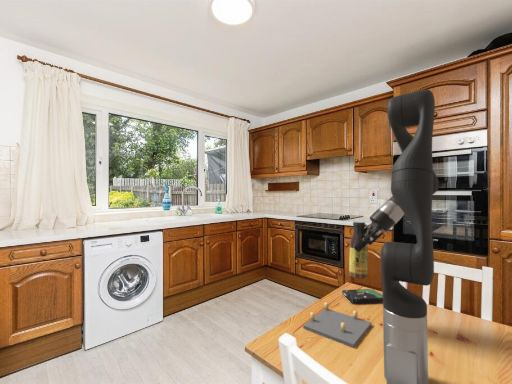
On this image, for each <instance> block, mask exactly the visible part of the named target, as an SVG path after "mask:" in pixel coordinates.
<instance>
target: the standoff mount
mask: <svg viewBox="0 0 512 384" xmlns="http://www.w3.org/2000/svg"><path fill="white" fill-rule="evenodd" d="M352 311H353V313H352V314H353V315H349V314H346V313H343V312H339V311H336V310H333V309H329V302H328V301H325V302H324V309H322V310H321V311H320V312H319V313H317V314H315V312H313V311H311V312H310V319H309V320H308V321H307V322H306V323H304V324H303V325H302V328H303V329H304V330H306V331H309V332H311V333H314V334H317V335H320V336H322V337H323V338H328V339H330V340H332V341H334V342H337V343H340V344H343V345H345V346H348V347H350V348H353V349H355V347H356V345H358V343H359V342H360V341H361V340H362V338H363V337H364V336H365V334H366V333H367V331H368V330H369V329H370V328H371V327H372V325H373V323H372V321H369V320H365V319H361V318H359V316H358V311H357V310H352Z"/></svg>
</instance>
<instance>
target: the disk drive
mask: <svg viewBox="0 0 512 384" xmlns="http://www.w3.org/2000/svg"><path fill="white" fill-rule="evenodd" d="M341 292H342V294H343V295H344V296H345V297H346V298H347V299H348V300H349V301H350V302H349V301H348V300H347V299H346V298H345V297H344V296H343V295H342V296H343V297H344V298H345V299H346V300H347V301H348V302H349V303H351V304H352V305H365V304H369V305H370V303H371V304H383V294H382V293H380V292H378V291H376V290H375V289H374V288H373V289H372V288H364V289H342V291H341Z"/></svg>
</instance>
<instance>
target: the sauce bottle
mask: <svg viewBox="0 0 512 384" xmlns="http://www.w3.org/2000/svg"><path fill="white" fill-rule="evenodd" d="M365 224H366V222H364V221H353V222H352V226H353V232H352V234H353V235H352V236H351V237H350V239H349V243H350V245H349V261H348V271H349V273H348V274H349V277H351V278H354V279H359V280H360V279H361V280H363V279H367V278H368V272H369V270H368V268H369V266H368V265H369V264H368V263H369V260H368V259H369V245H366V246H365V247H364V248H363V249H362V250H361V251H360V252H357V251H356V250H355V249H354V246H356V245H357V244H358V243H359V242H360V241H362V238H363V237H364V227H365Z"/></svg>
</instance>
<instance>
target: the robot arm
mask: <svg viewBox="0 0 512 384" xmlns="http://www.w3.org/2000/svg"><path fill="white" fill-rule="evenodd" d="M435 104H436V103H435V96H434V93H433V92H432V90H431V89H420V90H417V91H412V92H407V93H404V94H403V93H402V94H399V95H395V96H393V97H390V99H389V100H388V103H387V106H386V107H387V121H388V123H389V126H390V128H391V131H392V133H393V136H394V138H395V140H396V143H397V145H398V146H399V149H400V152H401V153H400V155H399V156H398V157H397V159H396V161H395V162H394V163H393V164H392V165H393V166H392V168H391V176H390V177H391V178H390V181H391V183H390V192H391V195H392V196H391V197H390V198H389V199H388V200H387V201H385V202H383V204H382V205H381V206H380V207H378V208H377V209H376V210H375V211H374V212H373V213H372V214H371V215H370V216H369V220H370V221H371V223H369V224H366V223H365V227H364V237H363V238H362V241H360V242H359V243H358V244H357V245H356V246H354V249H355V250H356V251H357V252H360V251H361V250H362V249H363V248H364V247H365V246H366V245H368V246H371V245H372V244H374V243H375V242H376V241H377V240H378V239H380V237H381V236H383V235H384V232H385V233H387V232H388V231H389V230H391V228H393V227H394V226H395V225H396V224H397V223H398V222H399V221H401V219H402V218H403V216H404V215H405V216H406V218H407V219H408V221H409V223H410V225H411V226H412V229H413V230H414V233H415V237H416V243H407V242H406V243H405V242H396V241H385V242H384V243H383V245H382V246H381V250H380V258H379V259H380V272H381V273H380V275H381V286H382V287H381V288H382V293H381V294H382V295H383V303H382V320H383V321H382V323H383V326H382V328H383V335H382V336H383V375H384V379H385V378H386V379H385V380H387V381H386V384H429V355H428V354H429V352H428V351H429V349H428V347H429V346H428V345H429V344H428V343H429V342H428V305H427V302H426V300H425V299H424V298H423V297H421V296H419V295H418V294H416V293H414V292H413V291H411V290H409V289H408V288H406V287H405V286H404V285H403V284H401V283H406V284H413V285H418V286H426V287H427V286H430V285H431V284H432V282H433V280H434V274H435V257H434V243H433V241H434V240H433V239H434V238H433V226H432V225H433V223H432V218H433V217H432V214H433V212H432V209H433V208H432V207H433V195H435V194H436V193H437V191H438V190H439V187H440V186H439V185H440V183H439V178H438V176H437V174H436V173H435V171H434V167H433V166H434V165H433V135H434V122H435V112H436V111H435V109H436V106H435ZM410 127H417V128H416V130H415V131H416V132H415V133H414V136H413V135H412V133H410V132H409V131H408V130H407V128H410ZM348 245H349V246H350V242H349V244H348ZM400 282H401V283H400Z"/></svg>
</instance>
